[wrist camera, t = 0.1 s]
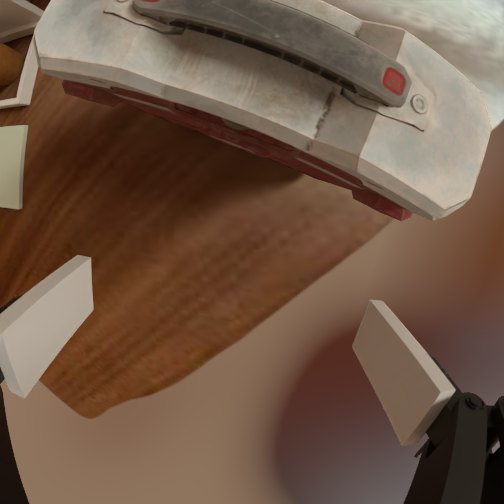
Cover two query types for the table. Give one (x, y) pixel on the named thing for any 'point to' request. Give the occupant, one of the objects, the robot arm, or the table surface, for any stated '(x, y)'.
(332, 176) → the first aid kit
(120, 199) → the table surface
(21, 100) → the access hatch
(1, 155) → the board
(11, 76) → the disposable coffee cup
